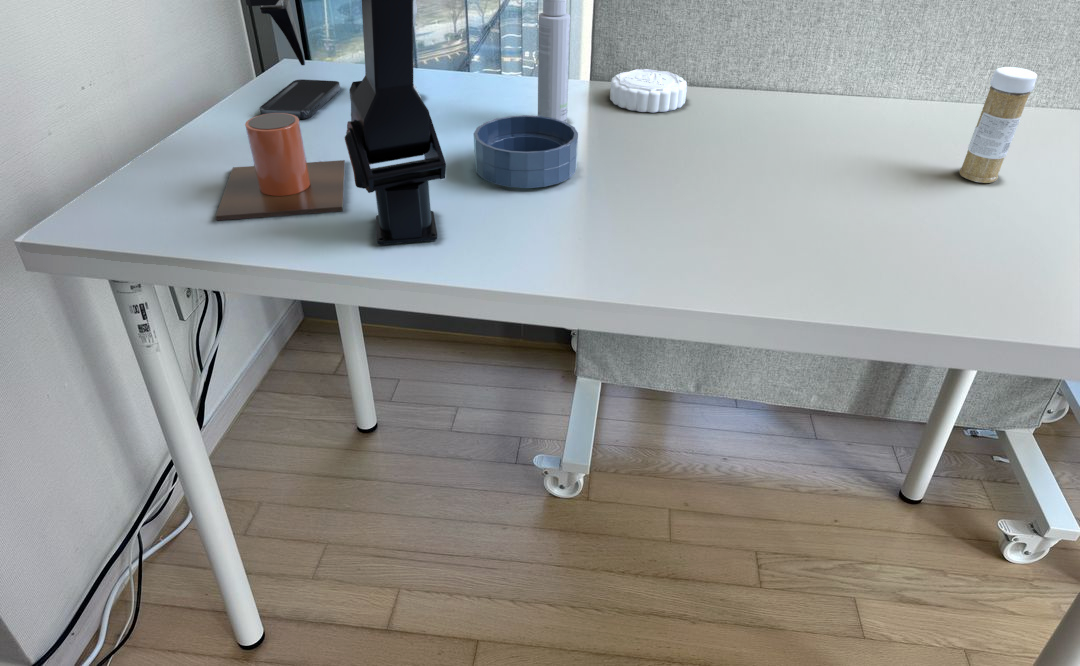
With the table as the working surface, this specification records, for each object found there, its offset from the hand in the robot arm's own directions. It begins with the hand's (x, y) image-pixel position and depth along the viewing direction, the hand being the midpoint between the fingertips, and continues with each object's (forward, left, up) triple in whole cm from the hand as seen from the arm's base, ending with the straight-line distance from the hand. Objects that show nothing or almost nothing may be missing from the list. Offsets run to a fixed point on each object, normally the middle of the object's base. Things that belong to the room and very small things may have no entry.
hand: (342, 62), depth 91 cm
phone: (+26, +8, -13) cm, 31 cm away
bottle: (+11, -29, -13) cm, 33 cm away
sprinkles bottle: (-18, -79, -13) cm, 82 cm away
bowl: (-6, -22, -13) cm, 26 cm away
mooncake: (+18, -46, -13) cm, 51 cm away
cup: (-7, +8, -13) cm, 16 cm away
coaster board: (-7, +8, -13) cm, 17 cm away
